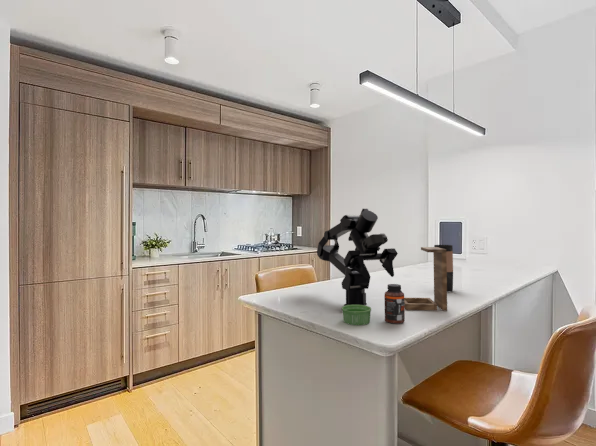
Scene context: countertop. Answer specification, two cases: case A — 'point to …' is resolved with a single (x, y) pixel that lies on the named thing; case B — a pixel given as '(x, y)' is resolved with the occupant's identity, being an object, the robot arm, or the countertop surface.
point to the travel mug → (448, 265)
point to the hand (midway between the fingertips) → (381, 277)
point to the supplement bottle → (394, 304)
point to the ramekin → (356, 314)
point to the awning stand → (439, 284)
